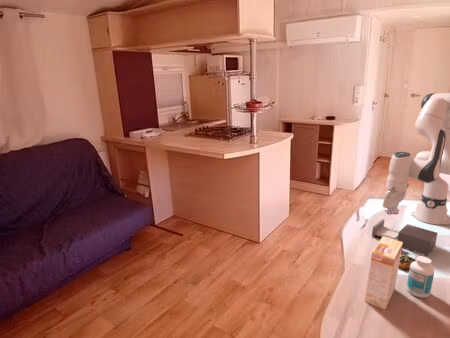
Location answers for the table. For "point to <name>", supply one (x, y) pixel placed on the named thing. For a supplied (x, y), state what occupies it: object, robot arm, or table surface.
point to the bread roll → (405, 262)
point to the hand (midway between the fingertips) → (391, 212)
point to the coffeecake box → (383, 272)
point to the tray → (384, 231)
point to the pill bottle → (420, 277)
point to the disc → (393, 210)
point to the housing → (417, 239)
